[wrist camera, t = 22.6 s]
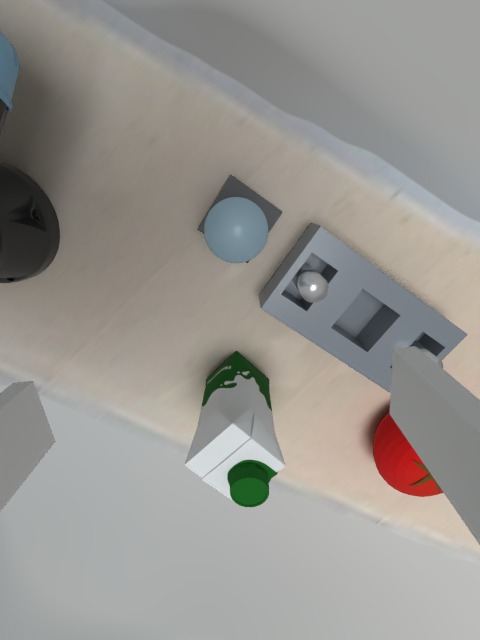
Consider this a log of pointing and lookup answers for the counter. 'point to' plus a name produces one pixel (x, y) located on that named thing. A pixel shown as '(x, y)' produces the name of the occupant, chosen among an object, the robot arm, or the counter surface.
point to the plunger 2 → (427, 353)
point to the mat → (241, 190)
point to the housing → (355, 308)
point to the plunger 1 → (310, 284)
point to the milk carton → (236, 434)
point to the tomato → (401, 462)
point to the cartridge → (236, 230)
